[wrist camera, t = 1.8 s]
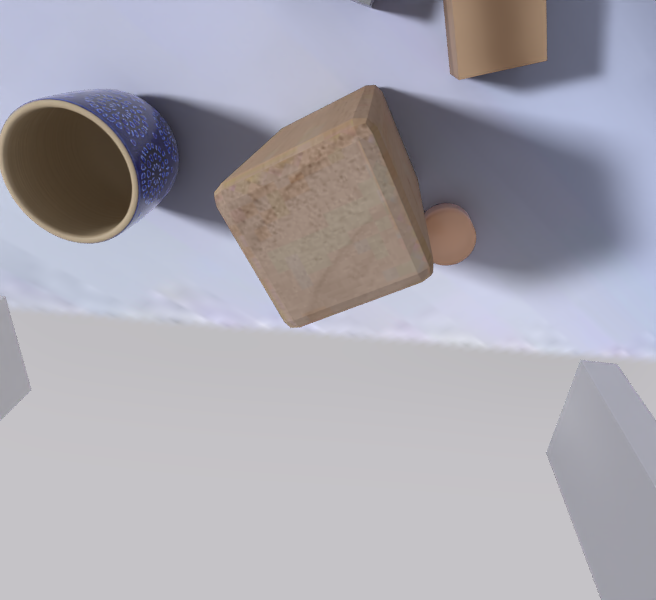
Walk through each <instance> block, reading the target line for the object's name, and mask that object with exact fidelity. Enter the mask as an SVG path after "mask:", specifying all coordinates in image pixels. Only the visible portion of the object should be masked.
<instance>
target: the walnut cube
mask: <svg viewBox="0 0 656 600" xmlns="http://www.w3.org/2000/svg"><path fill="white" fill-rule="evenodd" d="M443 4H444V15H445V25H446V36H447V46H448V57H449V67H450V74H451V75H453V76H454V77H456V78H457V79H459V80H461V79H465V78H470V77H474V76H479V75H483V74H488V73H493V72H497V71H502V70H506V69H511V68H516V67H520V66H525V65H529V64H534V63H538V62H543V61H547V20H546V0H443Z"/></svg>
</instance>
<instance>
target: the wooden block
mask: <svg viewBox="0 0 656 600" xmlns="http://www.w3.org/2000/svg"><path fill="white" fill-rule="evenodd" d="M214 198H215V202H216V206H217V208H218V210H219V212H220V214H221V215H222V217H223V219H224V220H225V222H226V224H227V225H228V227H229V229H230V231H231V232H232V234H233V236H234V237H235V239H236V241H237V242H238V244H239V246H240V247H241V249H242V251H243V253H244V254H245V256H246V258H247V259H248V261H249V263H250V264H251V266H252V268H253V270H254V271H255V273H256V275H257V276H258V278H259V280H260V281H261V283H262V285H263V287H264V288H265V290H266V292H267V293H268V295H269V297H270V298H271V300H272V302H273V304H274V305H275V307H276V309H277V310H278V312H279V314H280V315H281V317H282V319H283V321H284V322H285V323H286V324H287V325H288V326H290V327H291V328H294V327H302V326H305V325H307V324H310V323H313V322H315V321H318V320H321V319H323V318H326V317H329V316H332V315H334V314H337V313H340V312H342V311H345V310H348V309H350V308H353V307H356V306H359V305H361V304H364V303H367V302H369V301H372V300H375V299H378V298H380V297H383V296H386V295H388V294H391V293H394V292H396V291H399V290H402V289H405V288H407V287H410V286H413V285H415V284H418V283H421V282H423V281H424V280H425V279H427V278H428V277H430V276H431V274H432V273H433V256H432V250H431V245H430V240H429V235H428V230H427V225H426V220H425V215H424V210H423V205H422V200H421V194H420V189H419V184H418V179H417V177H416V174H415V172H414V169H413V167H412V164H411V162H410V159H409V157H408V154H407V152H406V150H405V147H404V145H403V142H402V140H401V137H400V135H399V132H398V130H397V127H396V125H395V122H394V120H393V117H392V115H391V112H390V110H389V107H388V105H387V103H386V100H385V98H384V95H383V93H382V91H381V90H380V89H379V88H378V87H377V86H376V85H367V86H364V87H362V88H360V89H358V90H356V91H354V92H353V93H351V94H349V95H347V96H345V97H343V98H341V99H339V100H337V101H335V102H333V103H331V104H329V105H327V106H325V107H323V108H321V109H319V110H317V111H315V112H313V113H311V114H309V115H307V116H305V117H303V118H301V119H299V120H297V121H296V122H294V123H292V124H290V125H288V126H286V127H284V128H282V129H281V130H280V131H279V132H278V133H276V134H275V135H274V136H273V137H272V138H271V139H270V140H269V141H268V142H266V143H265V144H264V145H263V146H262V147H261V148H260V149H259V150H258V151H256V152H255V153H254V154H253V155H252V156H251V157H250V158H249V159H248V160H246V161H245V162H244V163H243V164H242V165H241V166H240V167H239V168H238V169H236V170H235V171H234V172H233V173H232V174H231V175H230V176H229V177H228V178H226V179H225V180H224V181H223V182H222V183H221V184H220V186H219V187H218V188H217V189H216V191H215V192H214Z"/></svg>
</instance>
